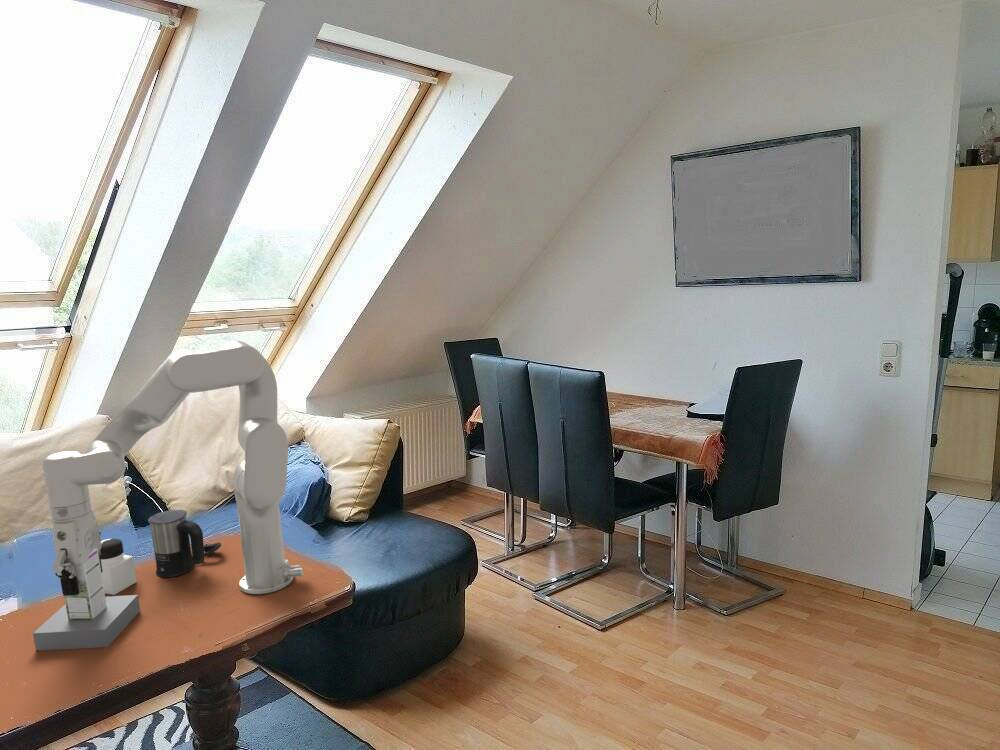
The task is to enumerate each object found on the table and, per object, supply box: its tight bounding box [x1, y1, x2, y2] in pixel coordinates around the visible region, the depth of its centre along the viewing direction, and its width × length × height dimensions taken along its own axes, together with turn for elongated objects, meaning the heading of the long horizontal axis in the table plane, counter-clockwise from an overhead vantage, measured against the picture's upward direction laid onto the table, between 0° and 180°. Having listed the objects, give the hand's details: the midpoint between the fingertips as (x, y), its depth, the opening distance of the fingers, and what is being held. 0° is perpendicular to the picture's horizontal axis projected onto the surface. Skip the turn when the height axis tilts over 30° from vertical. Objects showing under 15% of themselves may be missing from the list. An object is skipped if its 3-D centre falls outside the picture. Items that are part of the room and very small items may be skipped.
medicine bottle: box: [100, 538, 138, 596], centre depth 181 cm, size 7×7×12 cm
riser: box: [32, 594, 141, 651], centre depth 162 cm, size 15×15×4 cm
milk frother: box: [147, 509, 222, 578], centre depth 192 cm, size 14×16×15 cm
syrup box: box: [63, 548, 107, 620], centre depth 160 cm, size 6×6×14 cm
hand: (83, 583), depth 160 cm, fingers open, 9 cm apart
